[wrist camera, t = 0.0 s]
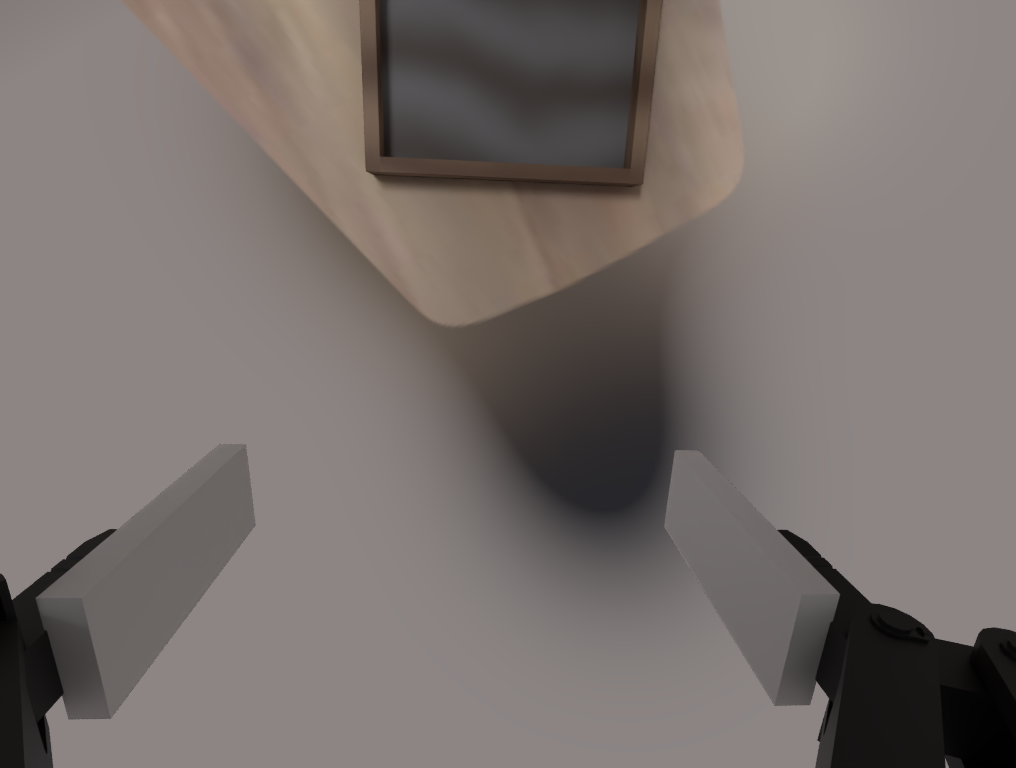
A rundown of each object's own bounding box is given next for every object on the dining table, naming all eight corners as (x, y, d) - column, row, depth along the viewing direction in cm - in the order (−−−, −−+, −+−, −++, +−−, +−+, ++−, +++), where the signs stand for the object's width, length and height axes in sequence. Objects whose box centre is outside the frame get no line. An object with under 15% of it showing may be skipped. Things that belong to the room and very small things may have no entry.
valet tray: (365, -48, 35) (356, -69, 32) (654, -26, 36) (667, -45, 34) (373, 174, 39) (365, 171, 36) (632, 186, 40) (642, 184, 38)
